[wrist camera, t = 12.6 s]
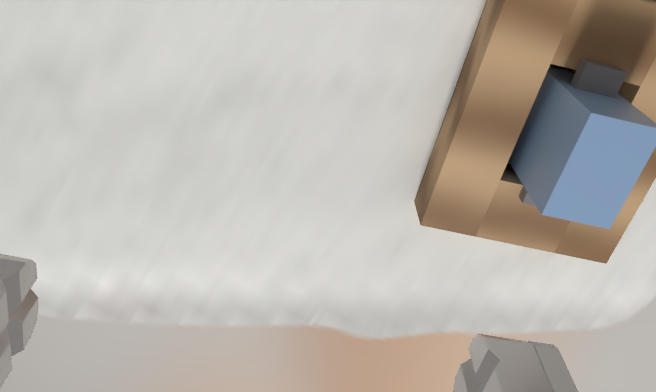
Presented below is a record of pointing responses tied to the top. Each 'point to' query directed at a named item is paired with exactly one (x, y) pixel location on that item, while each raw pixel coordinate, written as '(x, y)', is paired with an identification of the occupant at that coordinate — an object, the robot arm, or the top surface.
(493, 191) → the wooden base block
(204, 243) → the top surface
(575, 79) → the block
